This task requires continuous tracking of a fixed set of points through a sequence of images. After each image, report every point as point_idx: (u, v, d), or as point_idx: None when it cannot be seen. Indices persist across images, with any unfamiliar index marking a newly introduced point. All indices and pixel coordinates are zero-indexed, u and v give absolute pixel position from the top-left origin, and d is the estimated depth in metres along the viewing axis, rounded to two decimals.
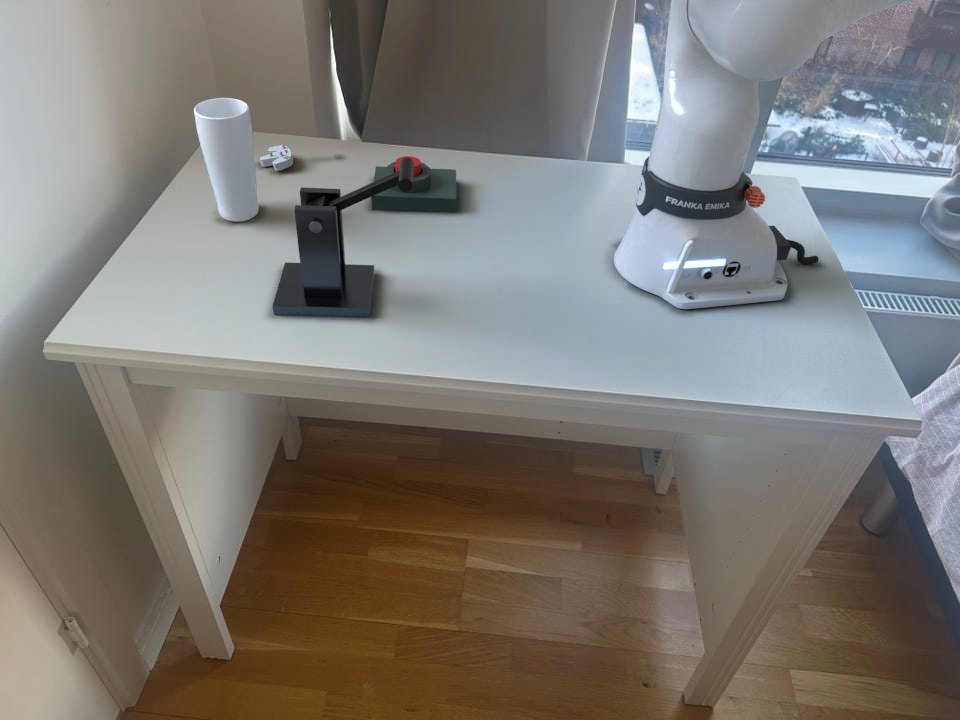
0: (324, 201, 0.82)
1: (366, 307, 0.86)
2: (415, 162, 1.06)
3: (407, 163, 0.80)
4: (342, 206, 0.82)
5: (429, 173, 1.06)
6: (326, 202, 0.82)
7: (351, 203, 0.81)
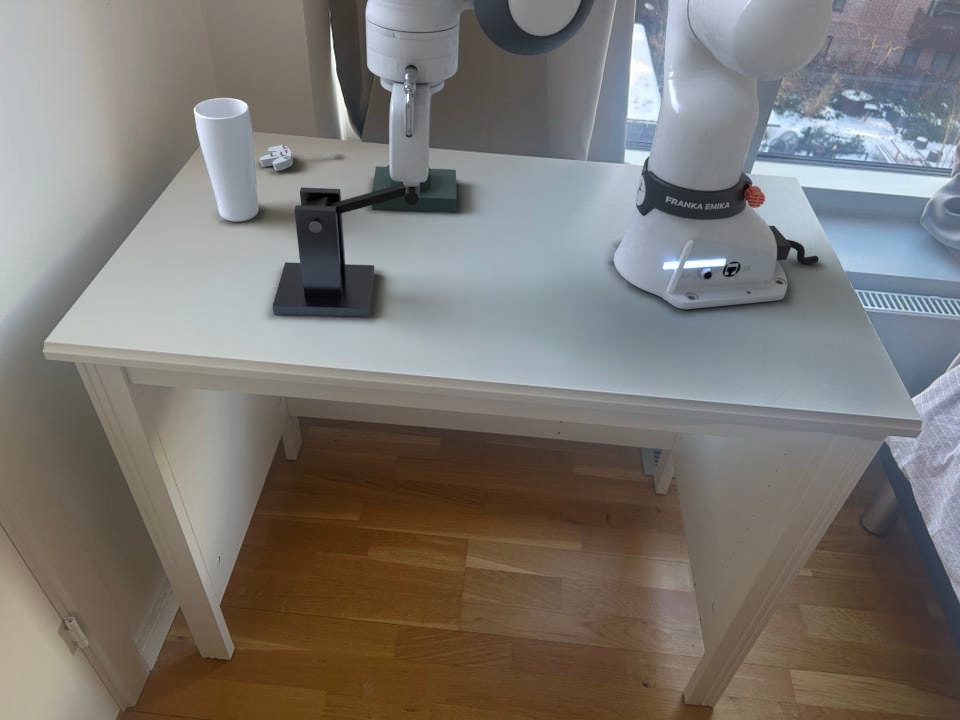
0: (326, 202, 0.82)
1: (366, 307, 0.86)
2: None
3: None
4: (344, 210, 0.82)
5: (429, 173, 1.06)
6: (328, 203, 0.82)
7: (353, 208, 0.82)
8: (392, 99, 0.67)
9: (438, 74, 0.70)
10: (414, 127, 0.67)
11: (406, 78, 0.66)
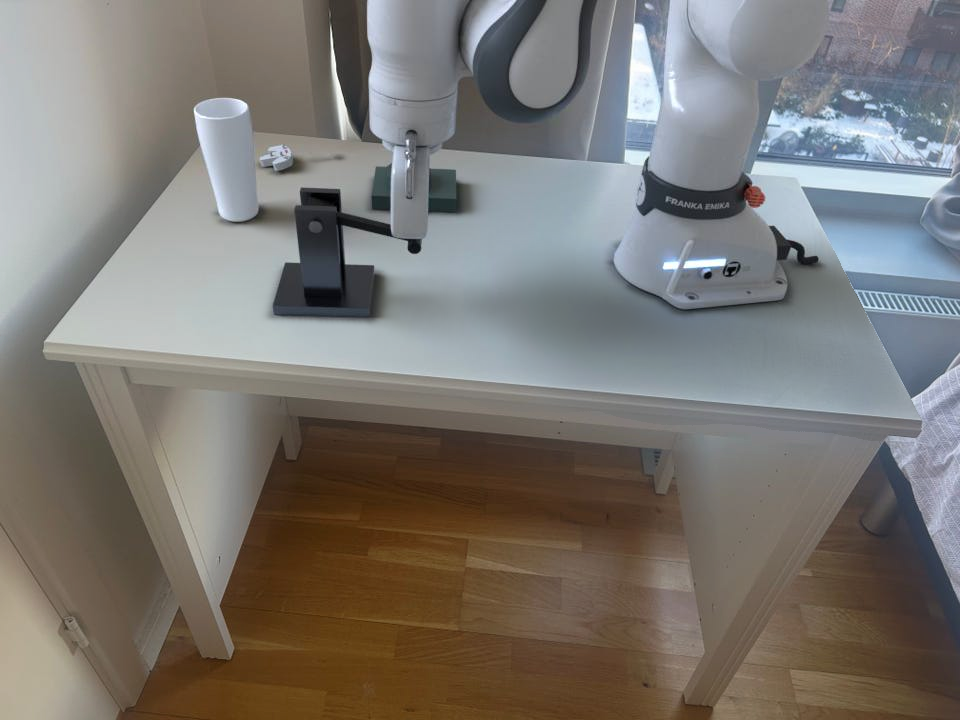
0: None
1: (366, 307, 0.86)
2: None
3: None
4: (345, 223, 0.83)
5: (429, 173, 1.06)
6: None
7: (354, 226, 0.83)
8: (393, 163, 0.71)
9: (437, 137, 0.74)
10: (414, 190, 0.71)
11: (407, 144, 0.70)
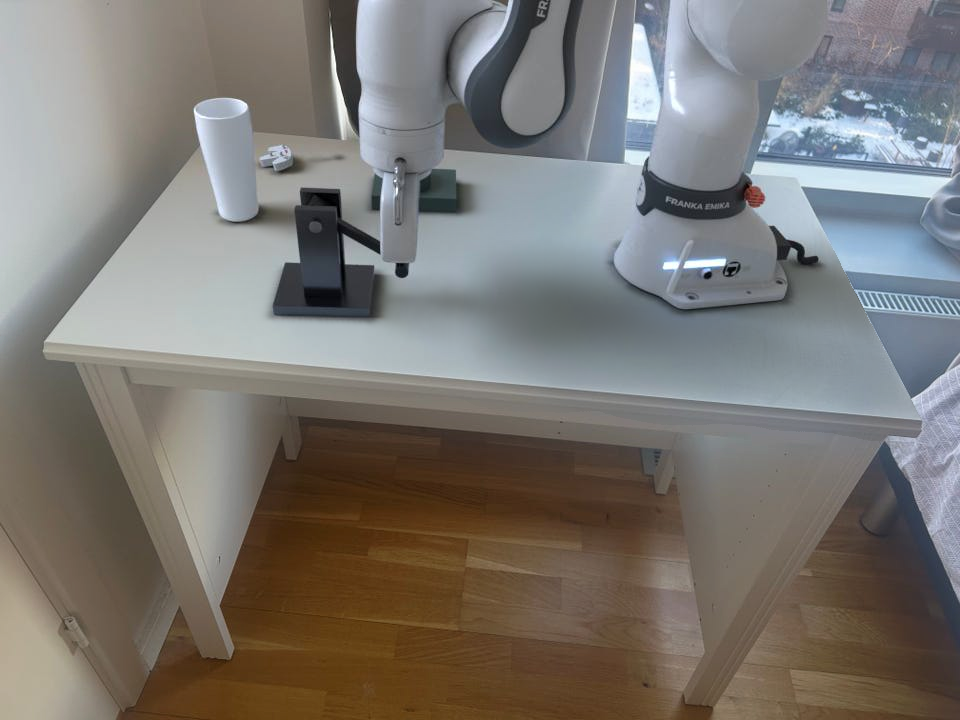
0: None
1: (366, 307, 0.86)
2: None
3: None
4: (341, 230, 0.84)
5: None
6: None
7: (349, 235, 0.84)
8: (382, 191, 0.73)
9: (425, 164, 0.75)
10: (403, 216, 0.73)
11: (395, 172, 0.72)
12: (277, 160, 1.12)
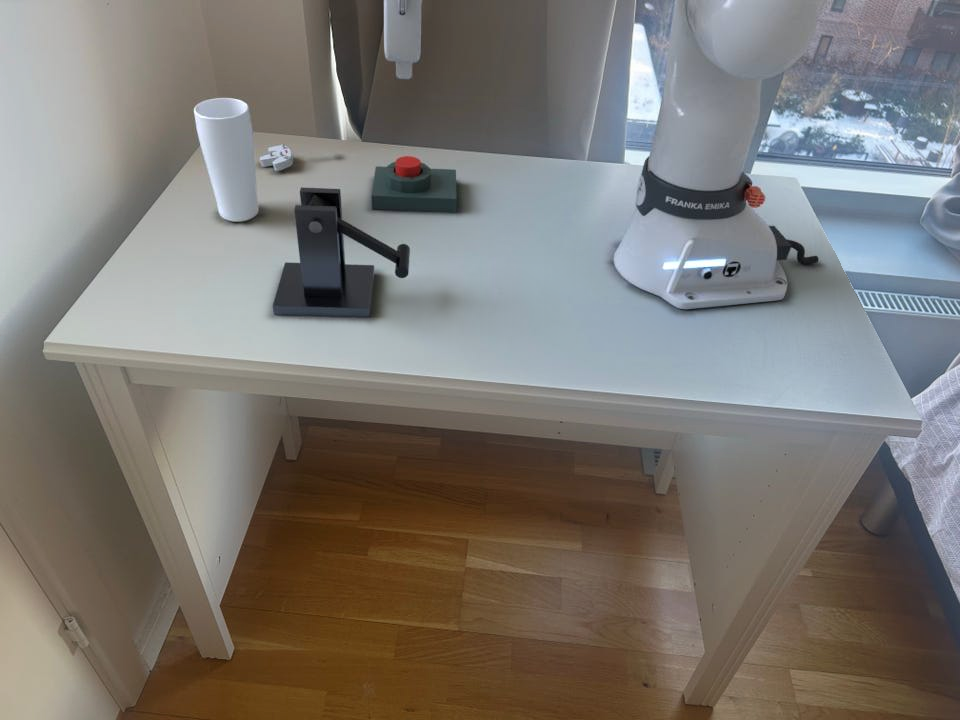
0: None
1: (366, 307, 0.86)
2: (415, 162, 1.06)
3: (409, 254, 0.88)
4: (341, 230, 0.84)
5: (429, 173, 1.06)
6: None
7: (349, 235, 0.84)
8: None
9: None
10: (407, 5, 0.72)
11: None
12: (277, 160, 1.12)
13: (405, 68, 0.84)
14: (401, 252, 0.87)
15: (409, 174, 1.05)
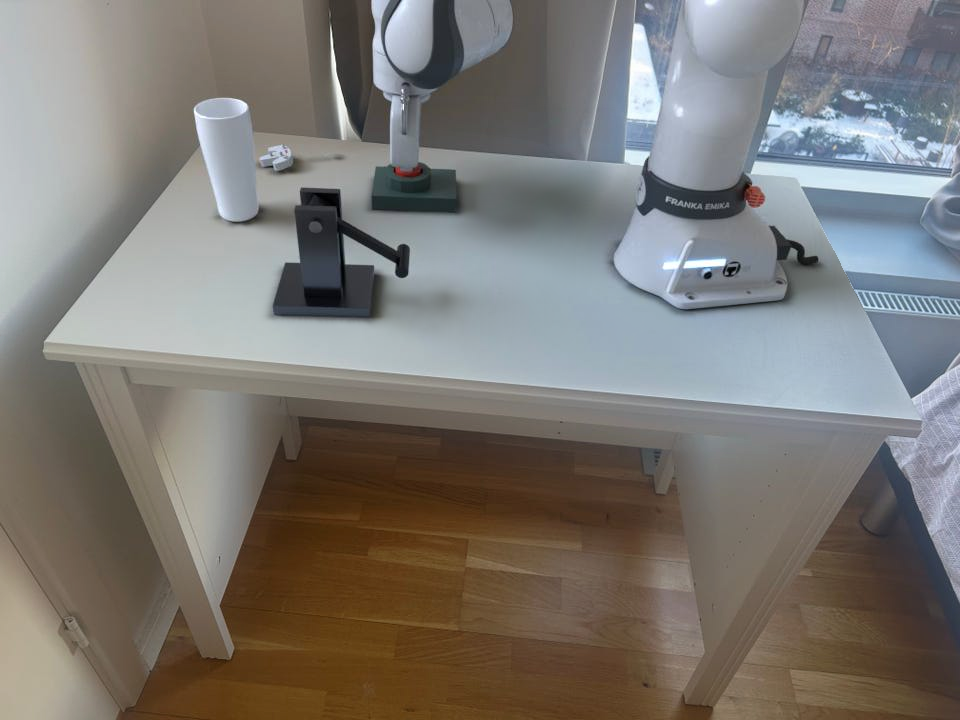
0: None
1: (366, 307, 0.86)
2: (415, 168, 1.06)
3: (409, 254, 0.88)
4: (341, 230, 0.84)
5: (429, 173, 1.06)
6: None
7: (349, 235, 0.84)
8: (392, 107, 0.93)
9: (425, 89, 0.95)
10: (408, 127, 0.93)
11: (402, 92, 0.92)
12: (277, 160, 1.12)
13: None
14: (401, 252, 0.87)
15: None
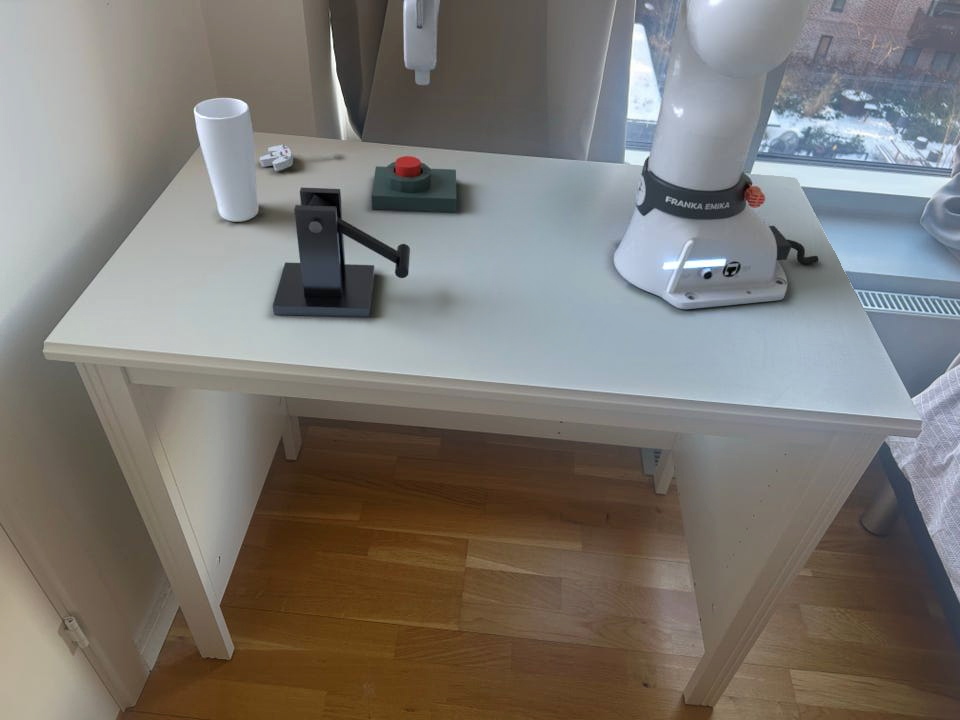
0: None
1: (366, 307, 0.86)
2: (415, 162, 1.06)
3: (409, 254, 0.88)
4: (341, 230, 0.84)
5: (429, 173, 1.06)
6: None
7: (349, 235, 0.84)
8: None
9: None
10: (423, 19, 0.81)
11: None
12: (277, 160, 1.12)
13: (423, 75, 0.93)
14: (401, 252, 0.87)
15: (409, 174, 1.05)
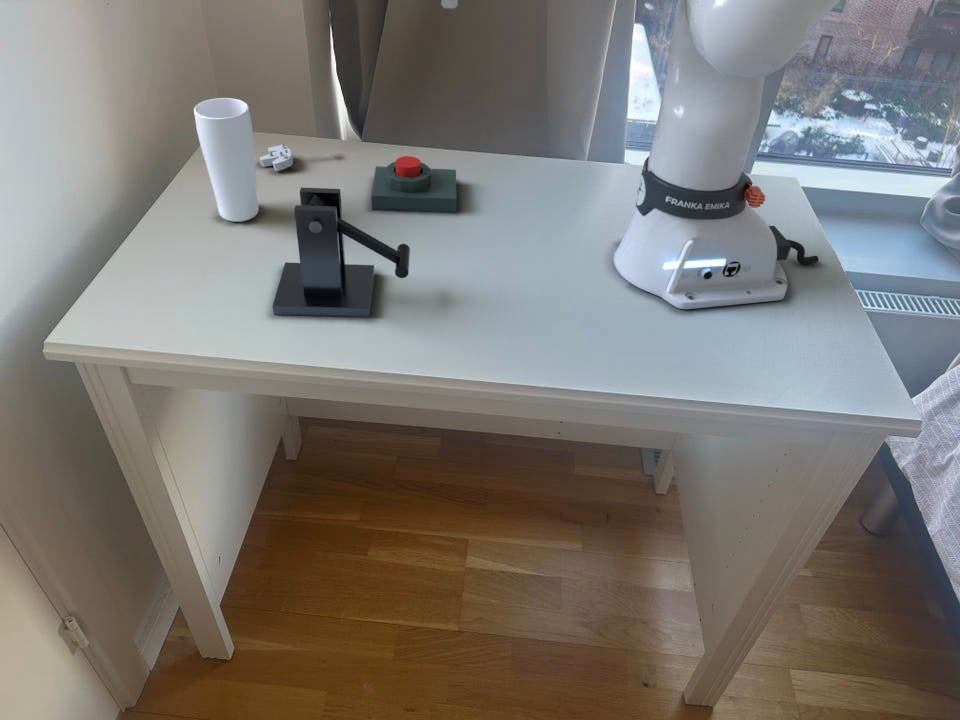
0: None
1: (366, 307, 0.86)
2: (415, 162, 1.06)
3: (409, 254, 0.88)
4: (341, 230, 0.84)
5: (429, 173, 1.06)
6: None
7: (349, 235, 0.84)
8: None
9: None
10: None
11: None
12: (277, 160, 1.12)
13: None
14: (401, 252, 0.87)
15: (409, 174, 1.05)
